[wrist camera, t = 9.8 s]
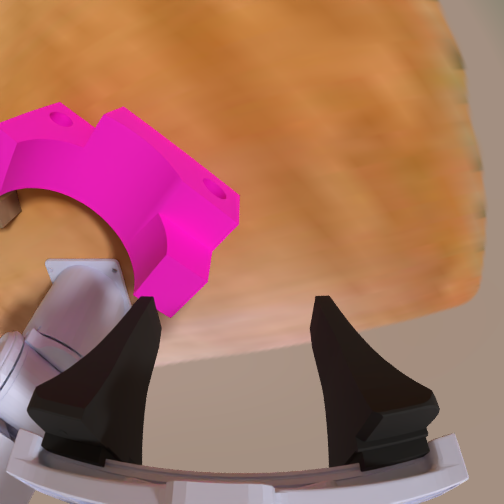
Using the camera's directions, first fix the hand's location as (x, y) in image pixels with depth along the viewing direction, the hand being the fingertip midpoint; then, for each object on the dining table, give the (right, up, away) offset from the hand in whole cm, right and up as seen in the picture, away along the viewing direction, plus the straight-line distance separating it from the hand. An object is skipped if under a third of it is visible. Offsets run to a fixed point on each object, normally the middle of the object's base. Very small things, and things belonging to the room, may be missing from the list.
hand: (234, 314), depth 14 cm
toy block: (-8, +9, +7) cm, 14 cm away
